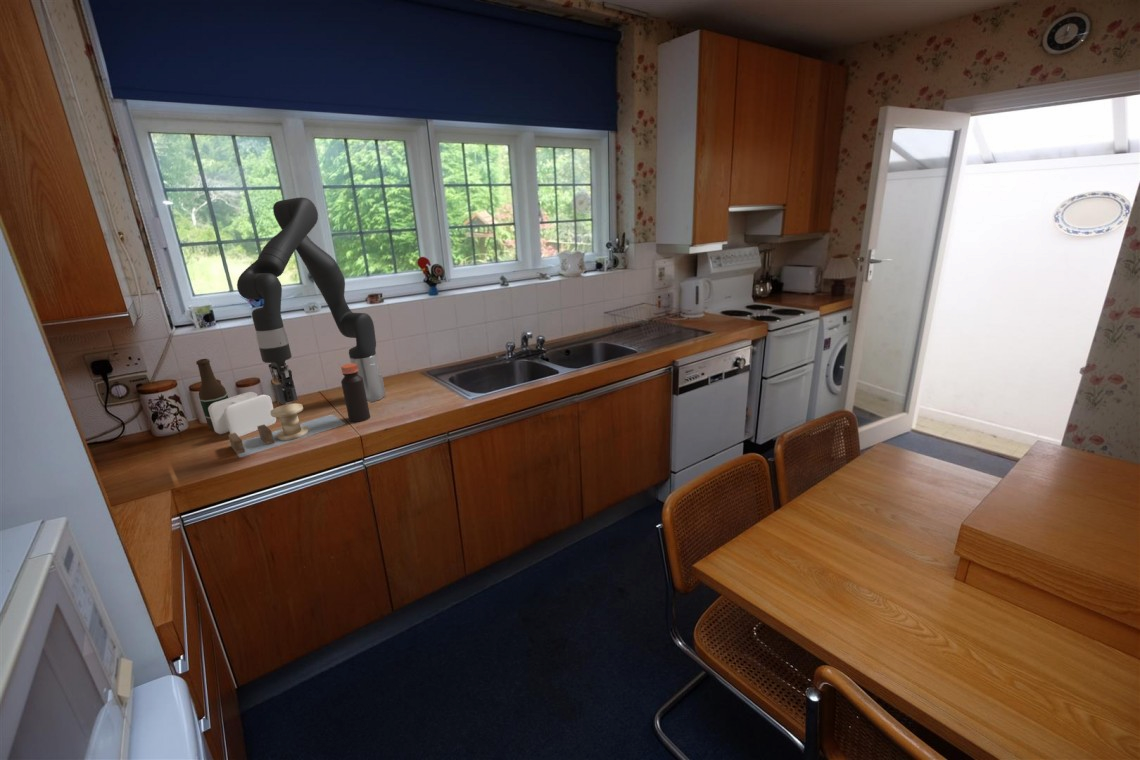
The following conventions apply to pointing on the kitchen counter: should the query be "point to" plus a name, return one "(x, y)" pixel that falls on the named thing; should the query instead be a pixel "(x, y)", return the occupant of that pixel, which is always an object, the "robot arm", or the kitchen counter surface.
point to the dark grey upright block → (280, 394)
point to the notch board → (238, 445)
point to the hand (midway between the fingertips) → (287, 399)
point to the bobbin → (289, 422)
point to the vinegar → (354, 394)
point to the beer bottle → (209, 389)
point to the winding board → (313, 427)
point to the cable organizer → (241, 413)
